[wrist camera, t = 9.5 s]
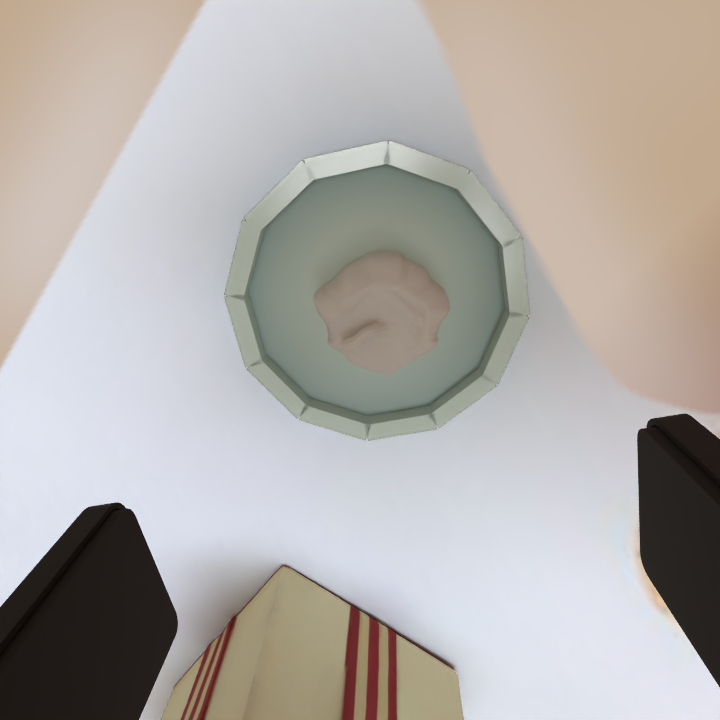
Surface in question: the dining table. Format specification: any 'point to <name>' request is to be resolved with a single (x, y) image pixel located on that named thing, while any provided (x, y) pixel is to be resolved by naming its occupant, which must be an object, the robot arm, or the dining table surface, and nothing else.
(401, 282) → the garlic
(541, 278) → the dining table surface
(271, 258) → the plate
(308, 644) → the gift box
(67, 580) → the robot arm
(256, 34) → the dining table surface
